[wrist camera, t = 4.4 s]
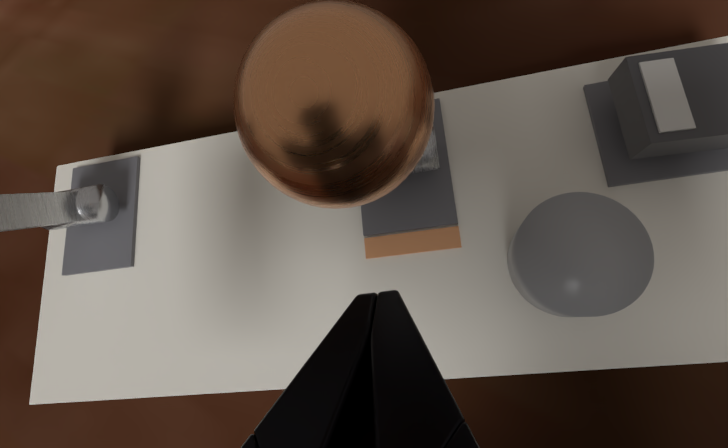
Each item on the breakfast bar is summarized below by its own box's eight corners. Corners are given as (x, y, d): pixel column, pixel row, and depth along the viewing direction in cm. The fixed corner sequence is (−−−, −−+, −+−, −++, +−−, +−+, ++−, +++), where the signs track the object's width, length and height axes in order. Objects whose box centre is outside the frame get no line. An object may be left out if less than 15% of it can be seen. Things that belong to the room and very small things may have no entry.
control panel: (795, 346, 14) (887, 353, 11) (89, 392, 20) (24, 405, 17) (704, 78, 17) (758, 26, 14) (106, 185, 23) (53, 164, 20)
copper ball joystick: (441, 182, 15) (462, 197, 4) (369, 193, 16) (204, 234, 4) (431, 113, 15) (425, -83, 4) (359, 127, 16) (157, -9, 4)
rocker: (761, 144, 13) (799, 125, 11) (629, 159, 13) (652, 142, 12) (731, 62, 13) (764, 36, 12) (607, 79, 14) (626, 55, 13)
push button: (637, 311, 13) (670, 310, 11) (517, 322, 13) (528, 322, 11) (609, 202, 13) (635, 183, 12) (498, 217, 14) (506, 201, 12)
